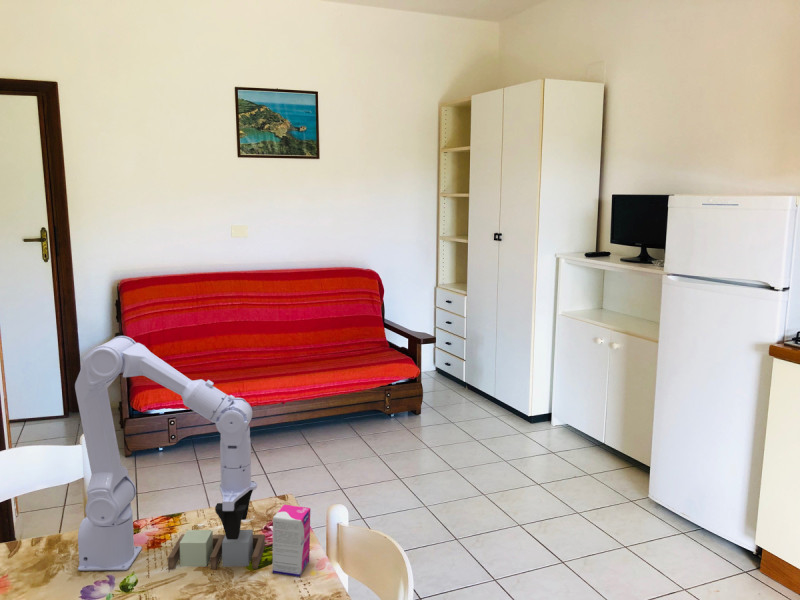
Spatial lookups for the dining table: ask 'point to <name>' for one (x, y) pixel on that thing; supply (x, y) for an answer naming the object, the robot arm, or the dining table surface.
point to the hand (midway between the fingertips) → (236, 528)
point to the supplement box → (291, 540)
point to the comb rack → (220, 551)
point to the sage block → (196, 548)
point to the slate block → (238, 549)
